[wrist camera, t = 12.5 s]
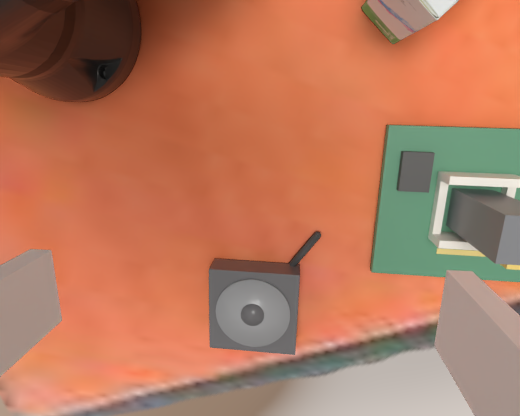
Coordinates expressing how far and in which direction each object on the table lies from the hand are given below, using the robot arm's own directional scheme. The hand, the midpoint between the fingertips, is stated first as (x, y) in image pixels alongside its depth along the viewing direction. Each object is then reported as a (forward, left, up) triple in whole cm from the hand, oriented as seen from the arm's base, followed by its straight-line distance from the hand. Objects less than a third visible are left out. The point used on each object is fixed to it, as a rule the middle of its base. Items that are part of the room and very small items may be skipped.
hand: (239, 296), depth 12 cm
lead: (+9, +3, -29) cm, 30 cm away
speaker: (+16, -2, -29) cm, 33 cm away
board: (+3, +20, -29) cm, 35 cm away
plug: (+3, +20, -28) cm, 34 cm away
